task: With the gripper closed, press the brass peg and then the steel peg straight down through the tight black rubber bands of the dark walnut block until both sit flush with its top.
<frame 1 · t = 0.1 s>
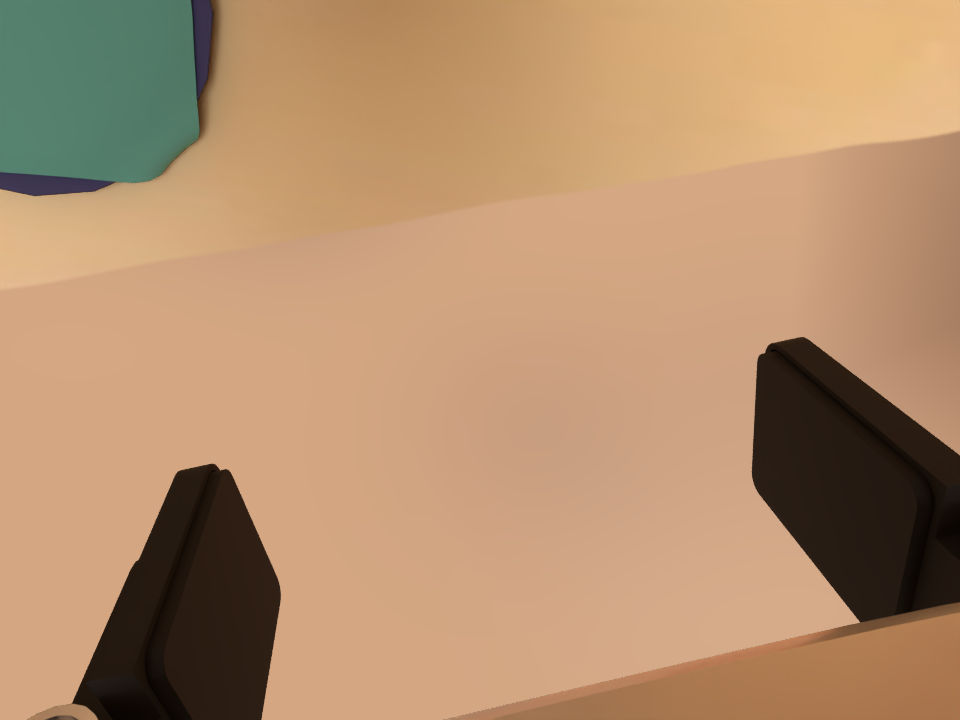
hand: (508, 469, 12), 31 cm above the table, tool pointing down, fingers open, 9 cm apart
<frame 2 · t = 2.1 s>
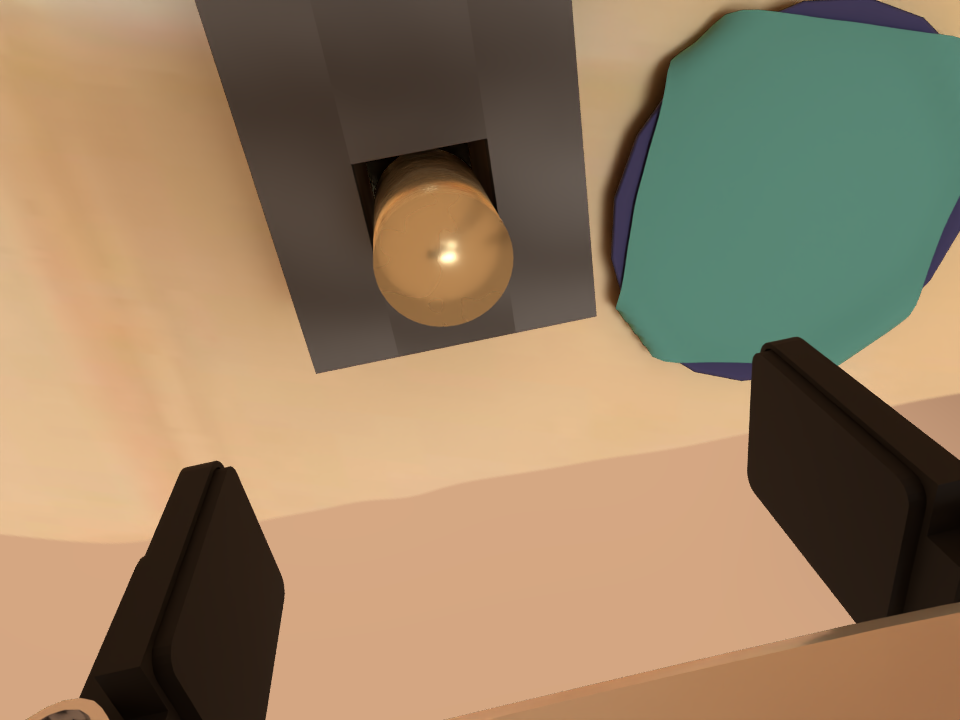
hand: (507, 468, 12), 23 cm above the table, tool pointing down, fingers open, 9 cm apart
peg block: (395, 48, 29), on the table
cutlery set: (806, 106, 34), on the table
brass peg: (435, 229, 24), point 10 cm above the table, slide at 5.0 cm
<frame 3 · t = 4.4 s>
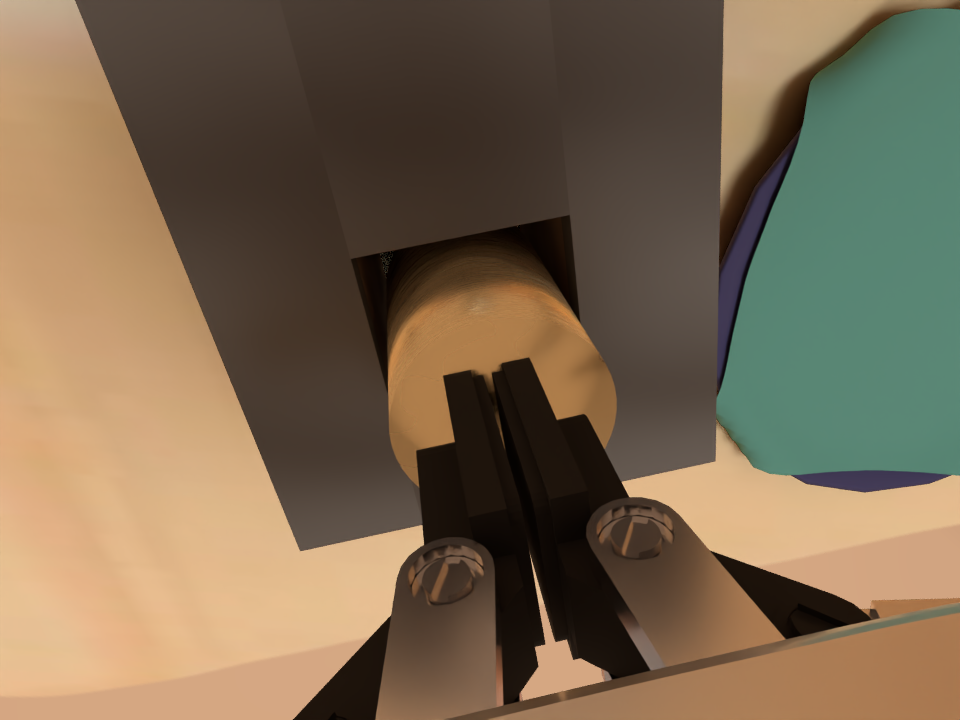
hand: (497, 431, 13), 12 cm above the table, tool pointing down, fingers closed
peg block: (416, 63, 20), on the table
brass peg: (480, 340, 16), point 8 cm above the table, slide at 3.8 cm, touching gripper
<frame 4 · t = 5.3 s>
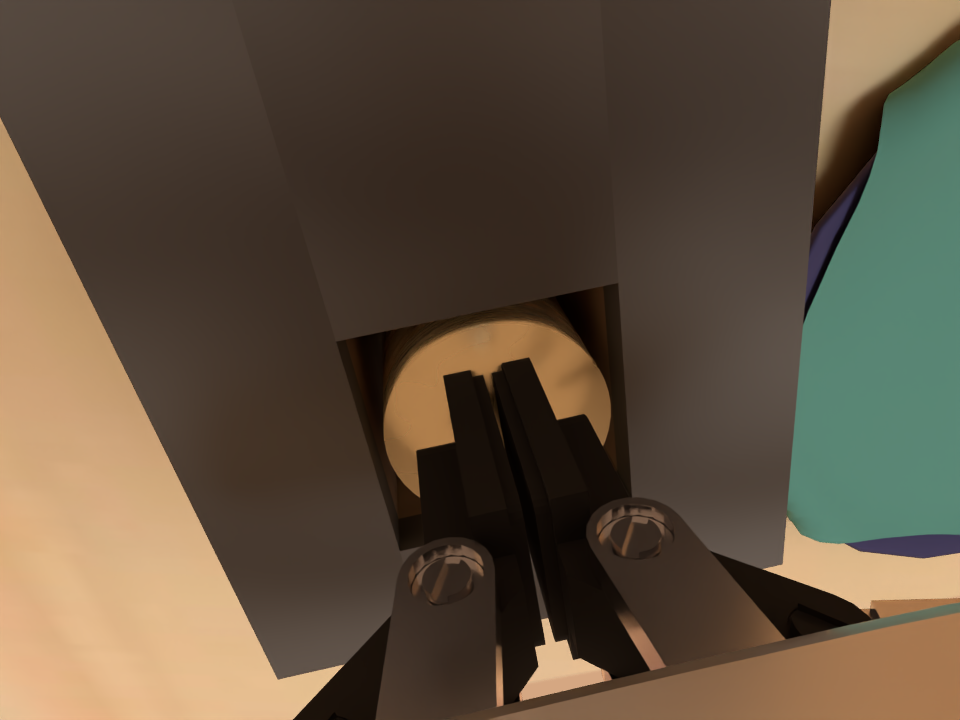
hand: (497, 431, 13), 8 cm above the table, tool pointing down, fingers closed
peg block: (417, 81, 17), on the table
brass peg: (475, 346, 16), point 4 cm above the table, slide at 0.0 cm, touching gripper
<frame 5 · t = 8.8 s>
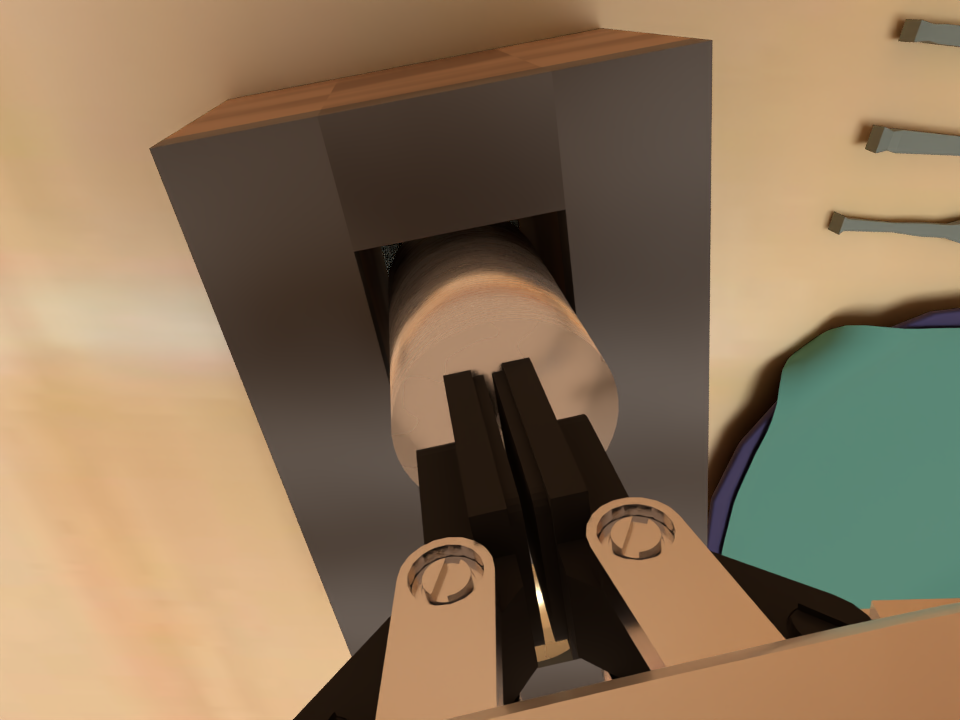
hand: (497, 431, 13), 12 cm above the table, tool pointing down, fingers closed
peg block: (474, 362, 26), on the table
steel peg: (482, 342, 16), point 9 cm above the table, slide at 4.4 cm, touching gripper
cutlery set: (921, 384, 31), on the table
brass peg: (513, 543, 25), point 4 cm above the table, slide at 0.0 cm
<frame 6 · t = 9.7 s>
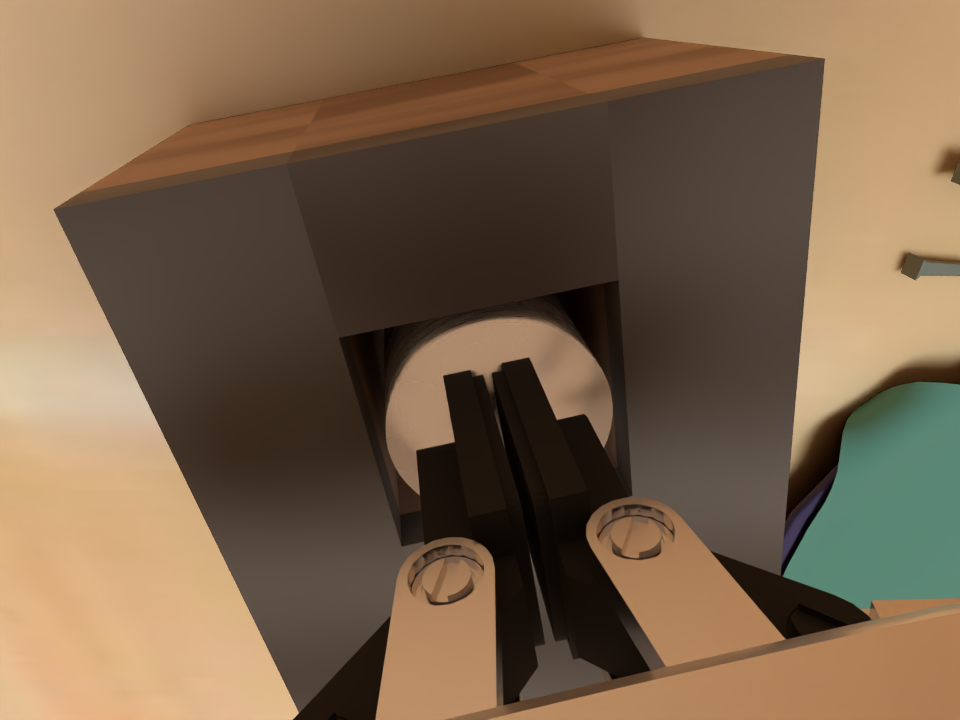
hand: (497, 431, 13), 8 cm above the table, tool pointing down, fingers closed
peg block: (486, 426, 22), on the table
steel peg: (477, 345, 16), point 5 cm above the table, slide at 0.1 cm, touching gripper
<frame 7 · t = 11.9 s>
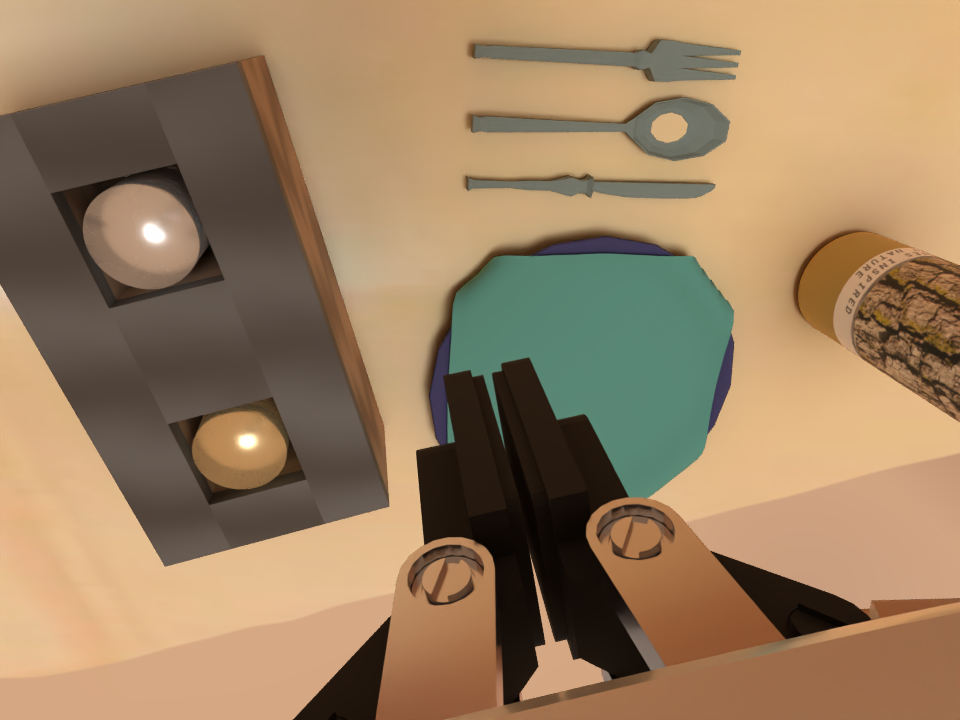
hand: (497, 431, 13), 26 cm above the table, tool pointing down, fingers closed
peg block: (226, 292, 37), on the table
steel peg: (164, 217, 30), point 4 cm above the table, slide at 0.0 cm
cutlery set: (585, 303, 41), on the table
brass peg: (250, 415, 35), point 4 cm above the table, slide at 0.0 cm
paper tube: (839, 278, 43), on the table
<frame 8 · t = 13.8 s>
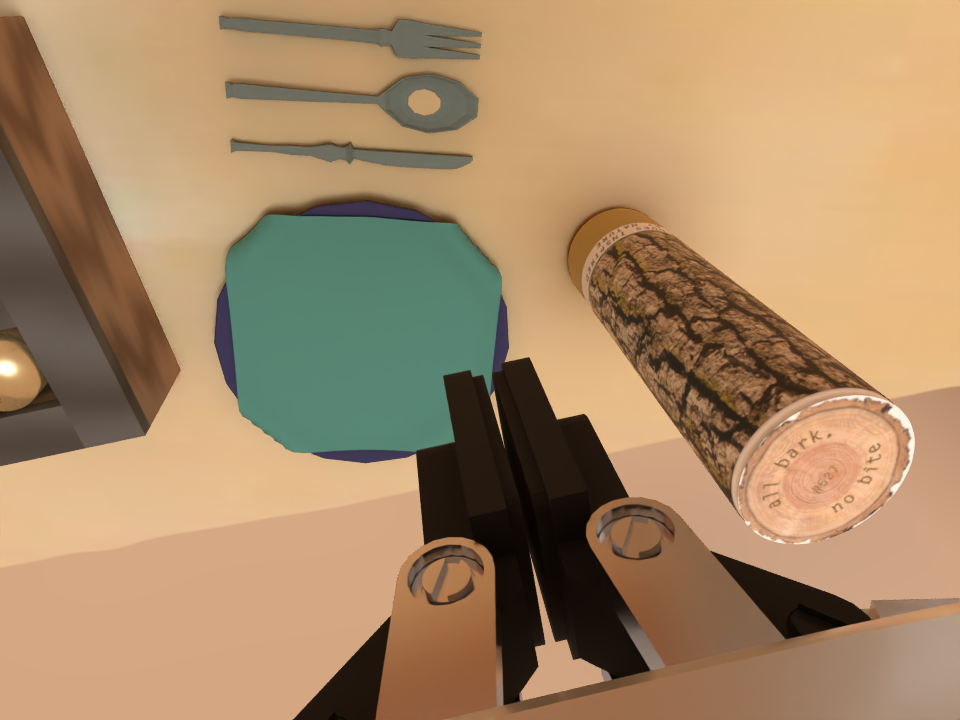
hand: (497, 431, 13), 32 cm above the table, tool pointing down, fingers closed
peg block: (13, 236, 40), on the table
cutlery set: (367, 264, 45), on the table
brass peg: (23, 347, 39), point 4 cm above the table, slide at 0.0 cm
paper tube: (611, 252, 46), on the table
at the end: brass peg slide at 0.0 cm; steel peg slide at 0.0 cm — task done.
